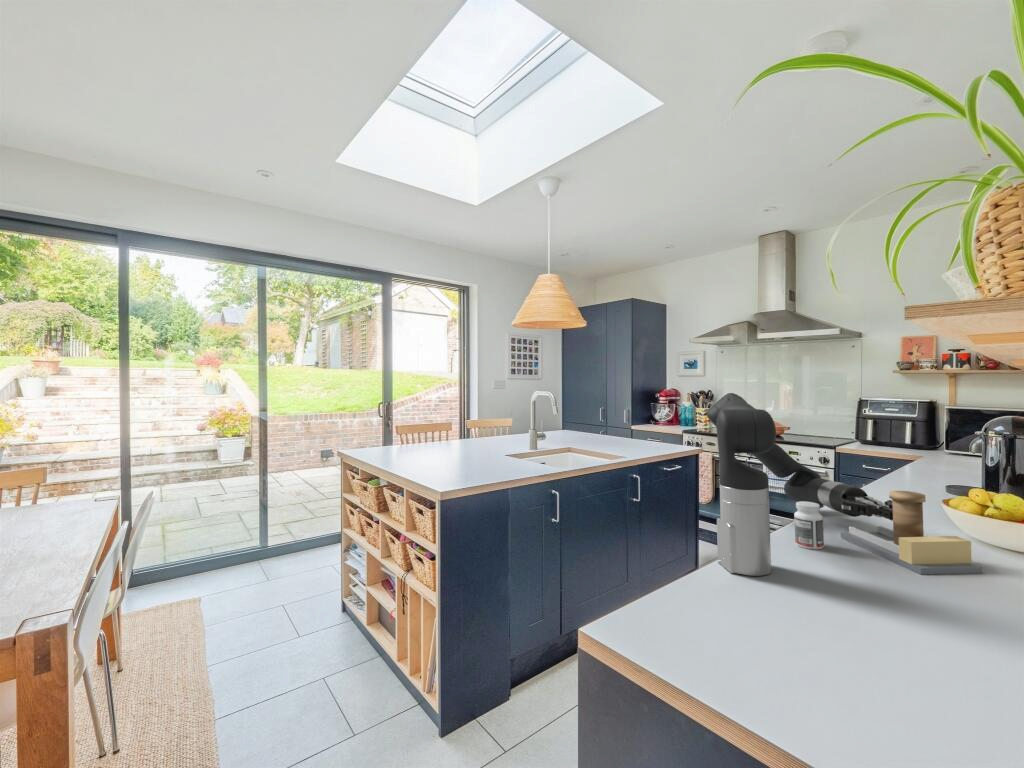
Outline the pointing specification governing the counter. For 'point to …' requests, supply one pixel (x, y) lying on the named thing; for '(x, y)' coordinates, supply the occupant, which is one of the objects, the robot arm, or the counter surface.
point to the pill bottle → (808, 525)
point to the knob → (907, 514)
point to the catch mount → (918, 551)
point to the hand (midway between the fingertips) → (897, 516)
